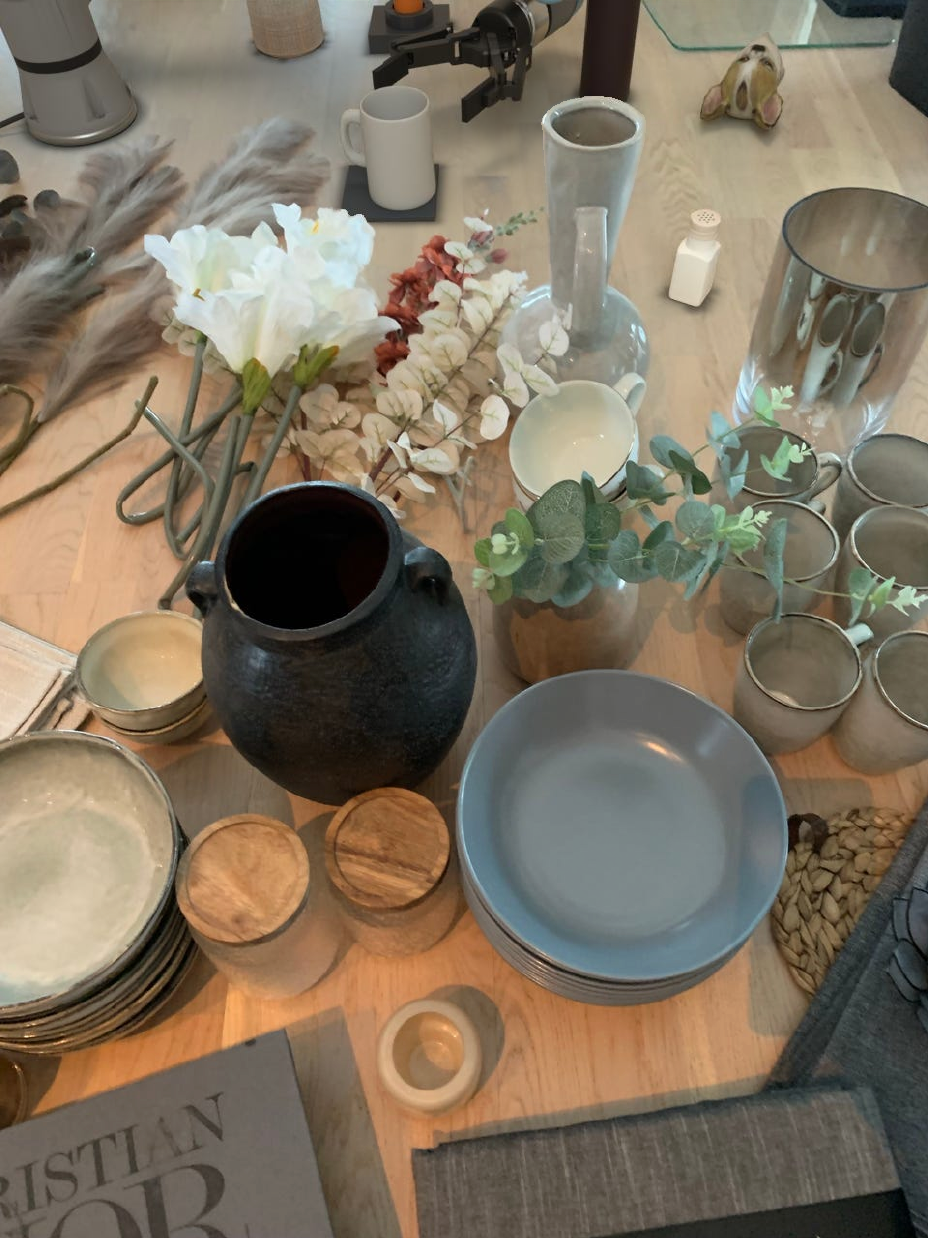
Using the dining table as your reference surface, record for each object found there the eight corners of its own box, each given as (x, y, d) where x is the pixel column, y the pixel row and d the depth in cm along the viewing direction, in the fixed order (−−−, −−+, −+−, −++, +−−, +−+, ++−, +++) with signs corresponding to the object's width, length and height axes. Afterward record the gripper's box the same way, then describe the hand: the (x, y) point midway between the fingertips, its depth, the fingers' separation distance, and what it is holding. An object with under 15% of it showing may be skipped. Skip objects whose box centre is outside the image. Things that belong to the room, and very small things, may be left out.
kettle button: (393, 15, 130) (392, -1, 129) (395, 2, 133) (394, -14, 131) (422, 14, 130) (421, -1, 128) (423, 1, 133) (422, -14, 131)
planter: (261, 27, 138) (247, -44, 130) (328, 26, 138) (318, -45, 130) (249, 60, 132) (234, -12, 124) (319, 59, 132) (308, -13, 124)
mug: (445, 179, 112) (440, 90, 103) (421, 216, 108) (414, 126, 98) (360, 164, 114) (349, 76, 105) (334, 200, 110) (319, 110, 101)
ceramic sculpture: (811, 24, 115) (786, 84, 108) (793, 90, 122) (769, 150, 116) (731, 13, 117) (703, 71, 111) (719, 79, 125) (691, 137, 118)
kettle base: (370, 54, 132) (366, 21, 129) (375, 24, 138) (372, -9, 134) (447, 52, 132) (446, 19, 128) (450, 22, 137) (448, -10, 134)
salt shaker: (665, 299, 98) (680, 221, 90) (679, 280, 100) (695, 202, 92) (698, 309, 97) (716, 232, 89) (712, 290, 99) (731, 212, 91)
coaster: (339, 221, 108) (339, 217, 108) (349, 169, 115) (348, 164, 114) (434, 220, 108) (434, 216, 108) (438, 168, 115) (438, 163, 114)
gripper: (587, 81, 116) (502, 154, 107) (435, 37, 124) (345, 102, 115) (592, 18, 110) (503, 90, 100) (432, -24, 118) (336, 39, 108)
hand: (418, 96), depth 107 cm, fingers open, 13 cm apart
